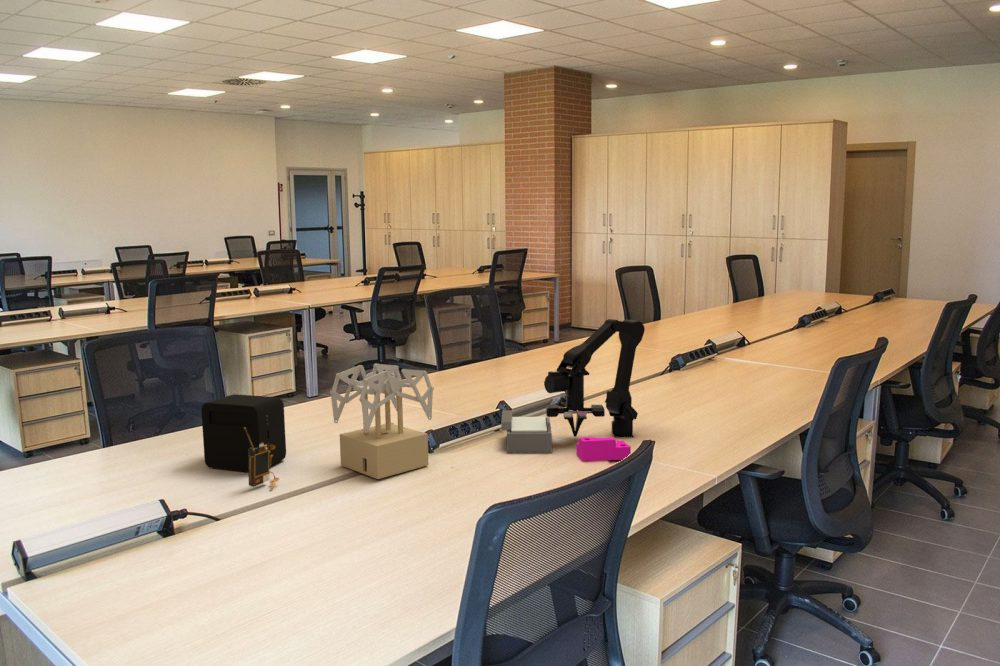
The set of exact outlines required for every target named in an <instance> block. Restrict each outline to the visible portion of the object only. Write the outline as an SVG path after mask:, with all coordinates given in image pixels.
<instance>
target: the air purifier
mask: <svg viewBox="0 0 1000 666" xmlns="http://www.w3.org/2000/svg"><path fill="white" fill-rule="evenodd" d="M200 410H201V422H202V423H201V424H202V438H203V439H202V441H203V454H204V455H203V456H204V457H203V458H204V463H205V464H206V466H207V467H209V468H210V467H212V468H211V469H216V468H219V469H218V470H226V469H227V471H237V472H246V473H249V456H248V450H249V448H250V447H251V448H252V446H251V444H250V441H249V438H248V436H247V433H248V434H249V437H250V439H251V441H252V444H253V446H254V447H255V446H256V447H258V446H259V444H261V443H264V444H267V445H274V446H275V449H273V450H272V449H270V455H273V456H272V459H271V466H273V465H275V464H277V463H279V462H282V461H283V460H285V458H286V456H287V444H286V443H287V441H286V424H285V420H286V419H285V405H284V401H283V400H282V399H281V398H280V397H277V396H267V395H265V396H264V395H249V394H235V393H233V394H231V395H227V396H224V397H221V398H218V399H214V400H210V401H208V402H205V403H203V404H202V406H201V408H200ZM244 427H246V430H245V429H244ZM246 431H247V433H246Z"/></svg>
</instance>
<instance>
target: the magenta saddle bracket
mask: <svg viewBox="0 0 1000 666" xmlns="http://www.w3.org/2000/svg"><path fill="white" fill-rule="evenodd" d="M575 449H576V456H577V457H578V459H580V461H582V462H584V463H586V462H599V461H603V462H604V461H615V460H616V461H617V460H619V461H620V460H624V459H623V458H625V457H627V456H628V455H629V454H631V449H632V448H631V446H630V445H629V444H628V443H627V442H626V441H624V440H617V439H616V438H615V437H614V436H610V437H597V436H596V437H595V436H587V437H586V436H585V437H578V442H576V448H575Z"/></svg>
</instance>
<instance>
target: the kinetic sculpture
mask: <svg viewBox="0 0 1000 666" xmlns="http://www.w3.org/2000/svg"><path fill="white" fill-rule="evenodd" d="M372 368H373V369H372V371H371V372H369V373H366V370H365V368H364V365H362V364H359V365H357V366H353V367H352V368H348V369H346V370H343V371H341V372H337V373H336V374H335V379H334V381H333V384H332V389H331V390H330V391H329V394H330V399H331V407H332V408H331V409H332V413H333V415H332V416H333V422H334V424H338V422H339V420H340V417H341V415H342V413H343V410H344V408H345V405H346V404H349V403H350V402H351V401H352V400H354V399H356V398H357V397H359V396H360V397H359V400H358V401H359V402H360V403H361V410H362V411H361V412H362V422H363V424H362V425H363V428H362V429H361V428H360V429H357V430H353V431H348V432H347V431H346V432H343V433H339V452H340V454H339V455H340V466H341V467H344V468H347V469H349V470H352V471H355V472H357V473H360V474H363V475H366V476H368V477H371V478H373V479H376V480H379V479H384V478H387V477H391V476H394V475H397V474H398V475H399V474H402V473H406V472H409V471H413V470H416V469H420V468H423V467H427V466H429V434H428V433H426V432H423V431H420V430H416V429H412V428H409V427H406V426H405V427H404V417H403V415H404V414H403V413H404V411H403V410H404V409H403V398H404V399H406V400H409V401H410V400H411V401H414V402H417V403H419V404H420V405H421V407H422V410H423V412H424V413H425V416H426V417H427V419H428V421H431V420H432V418H433V417H432V416H433V393H434V392H433V391H435V388H434V387H433V386H432V384H431V381H430V378H429V375H428V372H427V371H426V370H419V369H409V368H408V369H407V368H402V369H401V371H399V366H398V365H394V364H383V363H374V364H373V367H372ZM400 372H401V373H402V375H403V376H404V378H405V379H402V376H401V373H400ZM360 373H361V376H362V378H363V380H357V379H358V377H359V375H360ZM350 375H352V376H351V378H350V377H349V376H350ZM412 376H415V378H414V379H413V378H412ZM423 378H424V381H425V383H426V387H427V390H426V391H425V392H424V393H423V395H421V394H420V392H419V390H418V387H417V385H418V384H419V382H420V381H421V380H422V379H423ZM340 380H341V381H342V382H344V383H345V384H347V385H348V386H347V389H346V391H345V394H344V396H342V395H341V394H340V393H338V392H337V388H338V386H339V382H340ZM352 388H353V391H355V392H354V393H353V394H351V391H352ZM403 388H412V390H413V393H414V395H415V396H414V395H411V394H409V393H408V394H407V393H406V392H405V393H404V392H403ZM350 394H351V395H350ZM381 394H384V398H383V399H381ZM369 395H372V396H373V395H374V396H373V397H374V399H373V401H372V402H370V401H369V397H368V396H369ZM426 400H427V403H426ZM338 402H340V403H339V405H338ZM391 403H392V405H393V407H394V409H395V411H396V412H397V424H395V423H394V422H391V417H392V416H391ZM383 405H384V412H385V415H384V416H385V419H384V420H385V422H384V424H381V422H382V421H381V419H382V418H381V417H382V416H381V407H382V406H383ZM369 411H370V412H369ZM374 419H375V421H374V424H375V425H374V426H371V425H372V422H373V420H374Z"/></svg>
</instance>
